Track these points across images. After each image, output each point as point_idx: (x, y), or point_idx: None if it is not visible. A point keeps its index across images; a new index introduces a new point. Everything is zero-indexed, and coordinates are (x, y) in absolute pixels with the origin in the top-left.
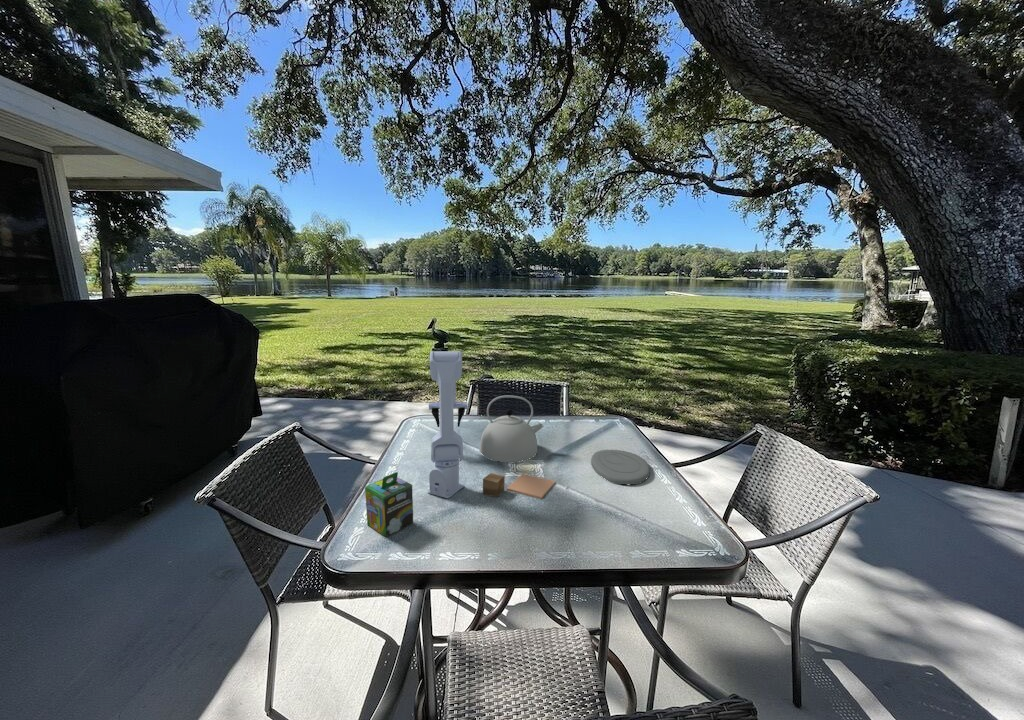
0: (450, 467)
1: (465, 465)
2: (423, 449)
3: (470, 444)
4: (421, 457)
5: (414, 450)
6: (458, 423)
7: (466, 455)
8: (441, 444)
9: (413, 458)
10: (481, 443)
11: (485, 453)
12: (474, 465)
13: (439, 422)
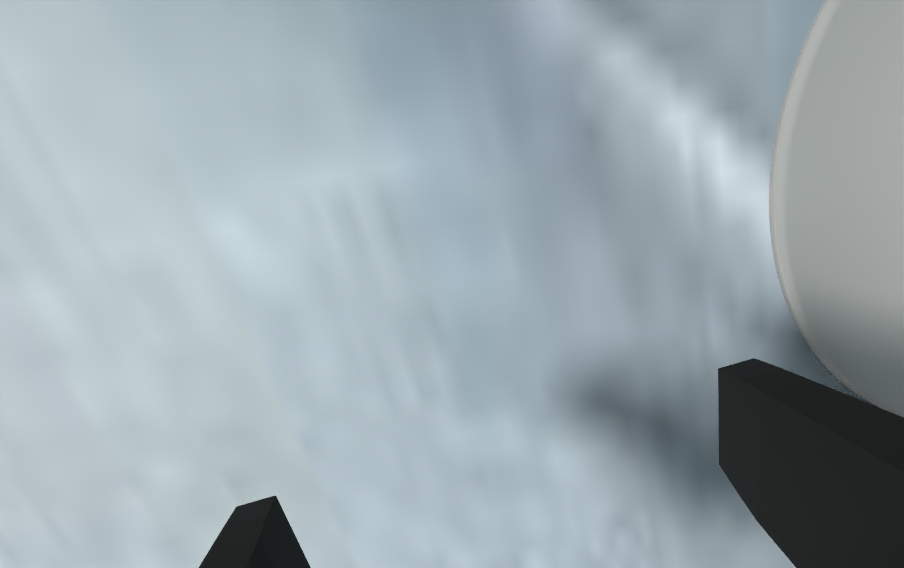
0: None
1: (665, 551)
2: (112, 286)
3: (648, 19)
4: (201, 492)
5: (15, 336)
6: (798, 545)
7: (645, 352)
8: None
9: (129, 531)
10: (888, 321)
11: (861, 381)
12: (739, 534)
13: (266, 542)
